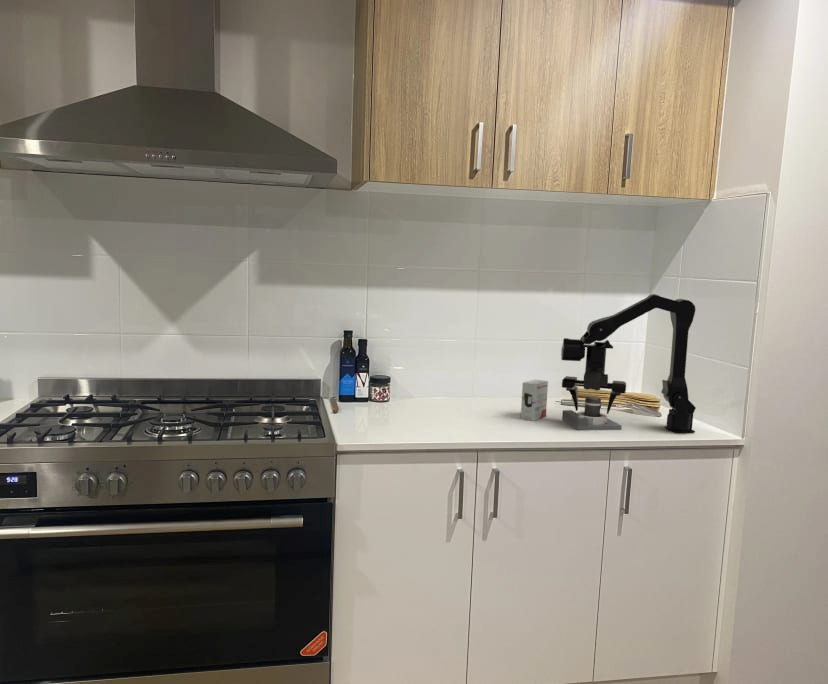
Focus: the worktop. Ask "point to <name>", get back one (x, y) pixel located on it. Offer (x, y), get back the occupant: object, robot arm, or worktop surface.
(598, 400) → the lens
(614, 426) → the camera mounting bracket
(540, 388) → the ink box
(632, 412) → the worktop surface
